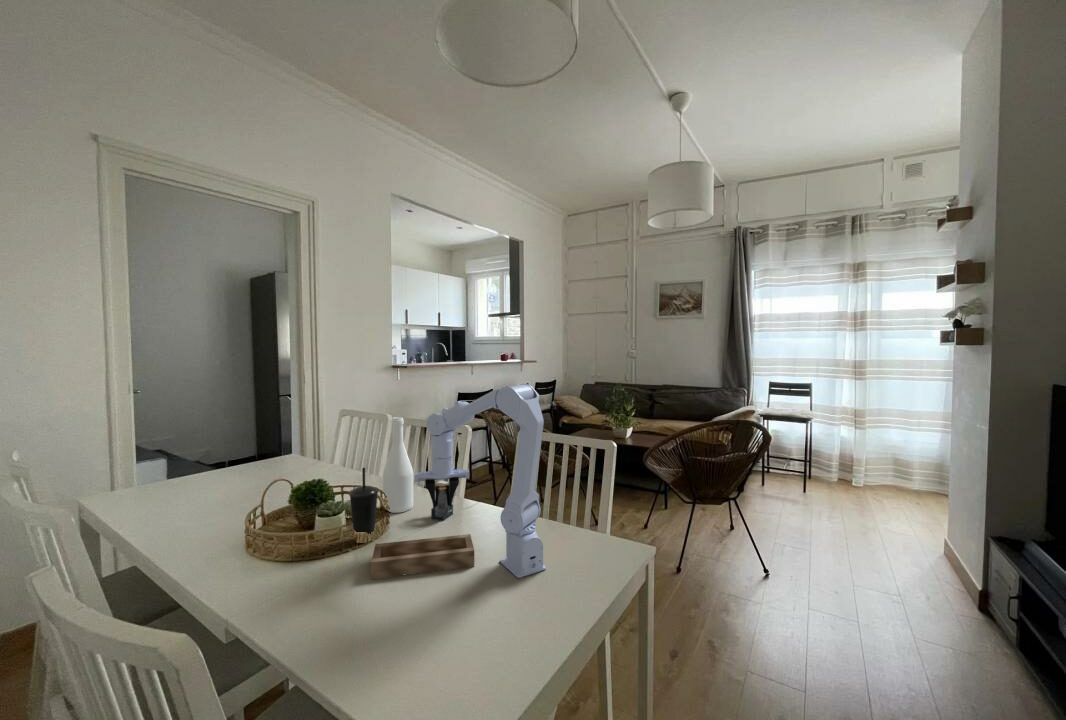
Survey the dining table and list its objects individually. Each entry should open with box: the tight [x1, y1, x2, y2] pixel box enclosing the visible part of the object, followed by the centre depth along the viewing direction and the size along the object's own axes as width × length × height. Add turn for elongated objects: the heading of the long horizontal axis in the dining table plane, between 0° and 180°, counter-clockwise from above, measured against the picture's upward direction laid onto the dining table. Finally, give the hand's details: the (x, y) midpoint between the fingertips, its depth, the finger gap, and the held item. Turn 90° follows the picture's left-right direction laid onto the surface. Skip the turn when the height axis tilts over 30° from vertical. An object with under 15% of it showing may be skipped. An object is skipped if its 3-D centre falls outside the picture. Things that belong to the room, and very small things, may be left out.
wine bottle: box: [382, 416, 414, 514], centre depth 140 cm, size 10×10×30 cm
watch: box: [430, 480, 456, 522], centre depth 134 cm, size 6×8×11 cm
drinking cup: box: [348, 467, 380, 534], centre depth 117 cm, size 8×8×20 cm
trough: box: [370, 533, 475, 580], centre depth 105 cm, size 24×9×4 cm, turn 104°
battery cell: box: [435, 483, 449, 517], centre depth 117 cm, size 4×4×8 cm
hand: (442, 505), depth 117 cm, fingers closed on battery cell, 4 cm apart
